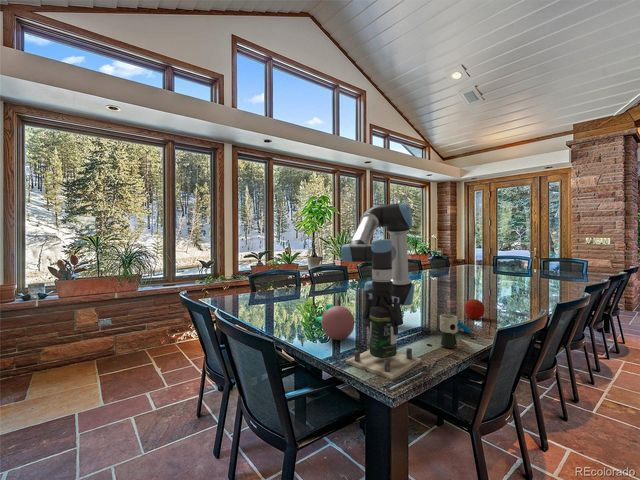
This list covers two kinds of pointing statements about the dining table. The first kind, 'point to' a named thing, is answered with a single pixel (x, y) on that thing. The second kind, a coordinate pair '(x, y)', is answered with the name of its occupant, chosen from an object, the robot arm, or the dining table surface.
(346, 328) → the pink ovoid
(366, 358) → the locator plate
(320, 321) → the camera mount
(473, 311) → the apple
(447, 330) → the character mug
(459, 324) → the blue irregular piece
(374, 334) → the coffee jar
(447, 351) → the dining table surface
